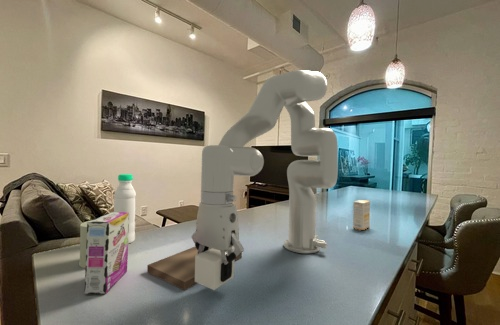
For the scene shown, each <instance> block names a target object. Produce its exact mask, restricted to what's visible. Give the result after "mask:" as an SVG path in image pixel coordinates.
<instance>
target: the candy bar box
mask: <svg viewBox="0 0 500 325" xmlns="http://www.w3.org/2000/svg"><path fill="white" fill-rule="evenodd" d="M88 221H89V222H87V221H86V222H87V243H86V268H84V270H85V273H84V274H85V275H84V276H85V277H84V295H106V294H107V293H108V292H109V291H110V290H111V289H112V288H113V287H114V286H115V285H116V284H117V283H118V281H119V280H120V279H121V278H122V277H123V276H124V275H125V274H126V273H127V272H128V258H129V257H128V253H129V244H128V234H129V213H127V212H114V211H111V212H109V213H107V214H104V215H102V216H100V217H97V218H95V219H94V218H93V219H92V221H91V220H88Z"/></svg>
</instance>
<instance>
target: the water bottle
mask: <svg viewBox="0 0 500 325" xmlns="http://www.w3.org/2000/svg"><path fill="white" fill-rule="evenodd" d="M133 179H134V176H133V174H130V173H129V174H128V173H121V174H118V176H117V180H118V183H119V185H118V186H117V188H116V189H115V192H114V194H113V197H114V203H113V212H127V213H129V234H128V245H129V244H132V243H133V242H134V241H135V240H136V233H135V230H136V221H135V220H136V210H137V209H136V197H137V192H136V190H135V188H134V186H133V185H132V182H133Z"/></svg>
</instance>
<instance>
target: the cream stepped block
mask: <svg viewBox="0 0 500 325" xmlns="http://www.w3.org/2000/svg"><path fill="white" fill-rule="evenodd" d="M232 249H233V251H234V250H235V248H234V246H232ZM226 253H227V257H228V256H229V255H228V251H226ZM234 261H235V259H234V260H233V261H232V275H231V277H230V278H229V279H227V280H226V281H224V282H222V281H221V264H222V263H223V260H222V256H221V252H220V250H217V249H213V248H212V249H209V250H207V251H205V252H202V253H200V254H197V255H195V282H197V284H199V285H202V286H203V287H206V288H208V289H211V290H213V291H215V290H217V289H218V288H220V287H222V286H223V285H225V284H226V283H227V282H229V281H230V280H232V279H234V278H235V262H236V261H235V262H234Z"/></svg>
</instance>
